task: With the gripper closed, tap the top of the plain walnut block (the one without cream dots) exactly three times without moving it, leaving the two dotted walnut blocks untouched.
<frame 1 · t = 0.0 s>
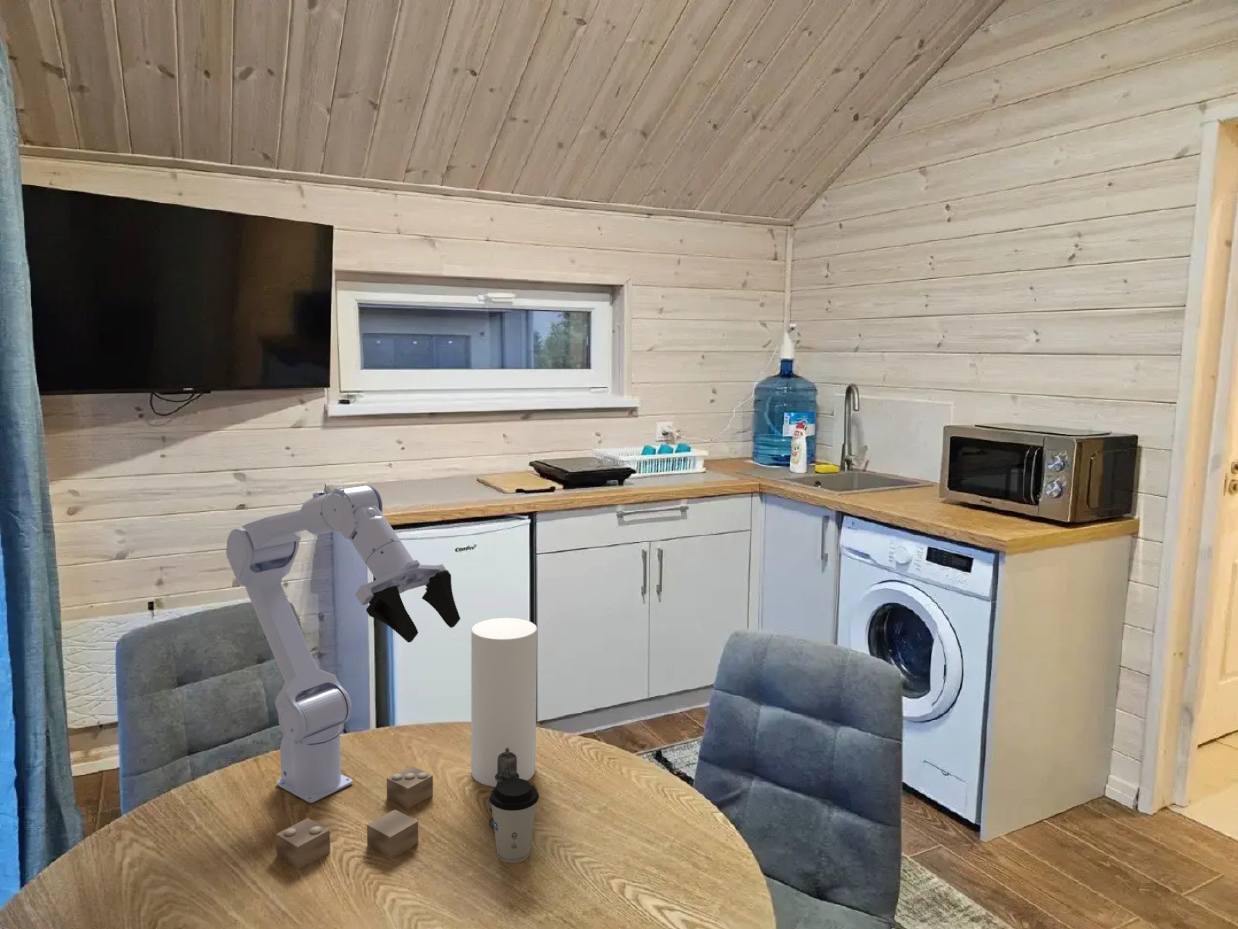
hand: (435, 630, 114), 32 cm above the table, tool tilted 50°, fingers open, 7 cm apart
coffee cup: (513, 854, 118), on the table
plain block: (392, 845, 120), on the table
two-dot block: (303, 855, 117), on the table
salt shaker: (506, 823, 126), on the table
three-dot block: (410, 797, 132), on the table
tall pillar cylinder: (503, 771, 141), on the table
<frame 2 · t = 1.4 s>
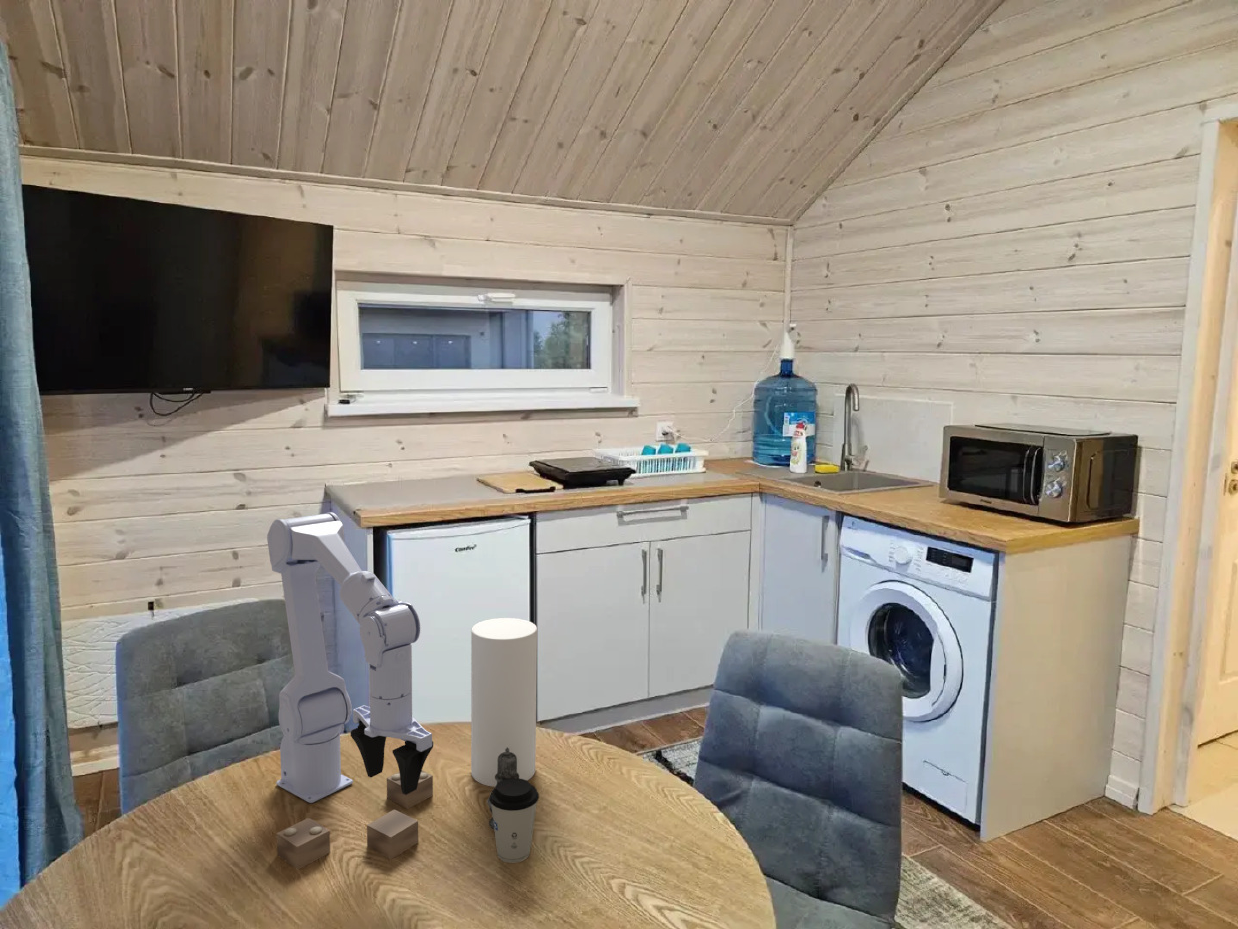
hand: (392, 782, 118), 9 cm above the table, tool pointing down, fingers open, 7 cm apart
nothing on the table moved.
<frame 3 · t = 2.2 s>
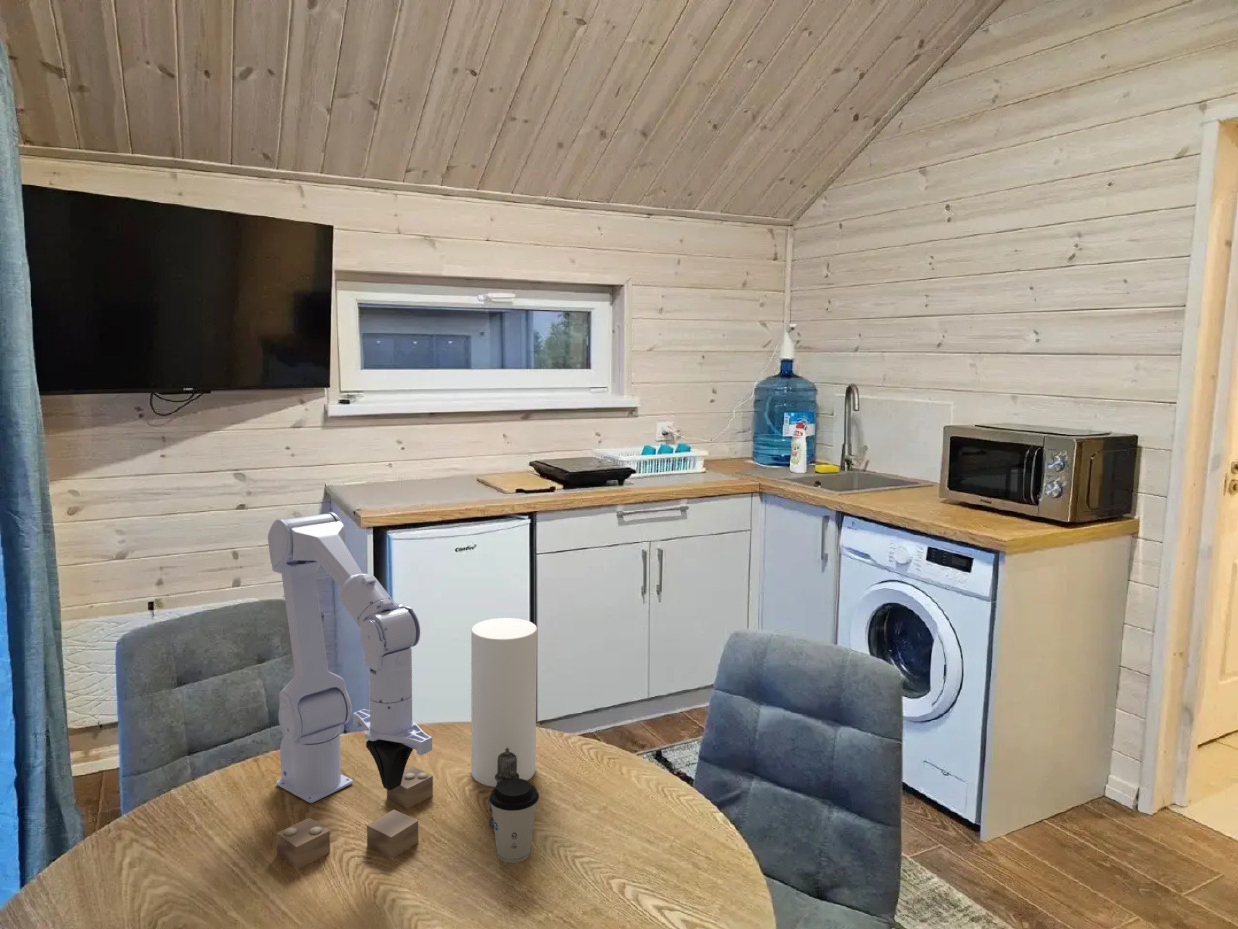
hand: (392, 786, 118), 9 cm above the table, tool pointing down, fingers closed
nothing on the table moved.
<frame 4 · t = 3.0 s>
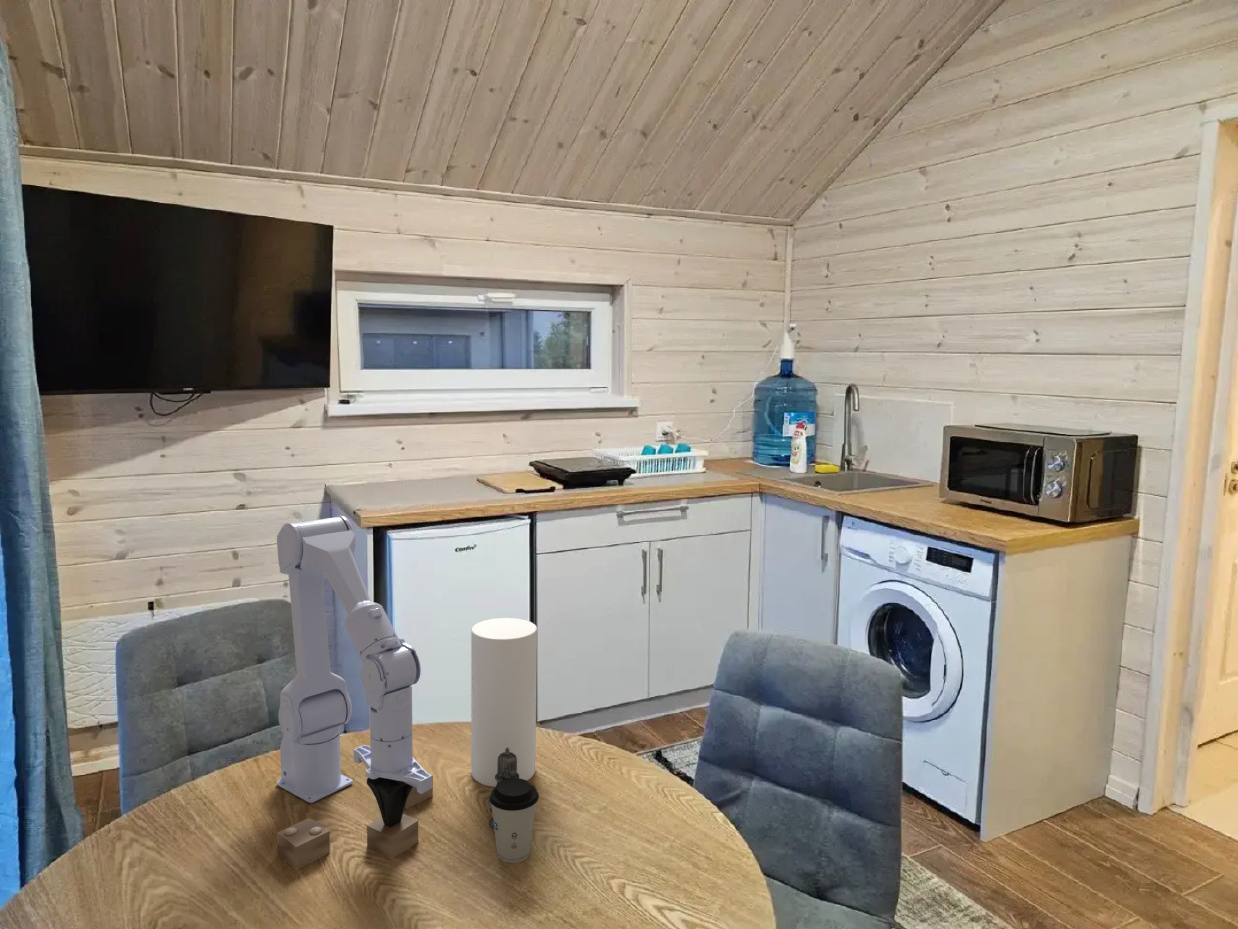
hand: (392, 822, 119), 3 cm above the table, tool pointing down, fingers closed
nothing on the table moved.
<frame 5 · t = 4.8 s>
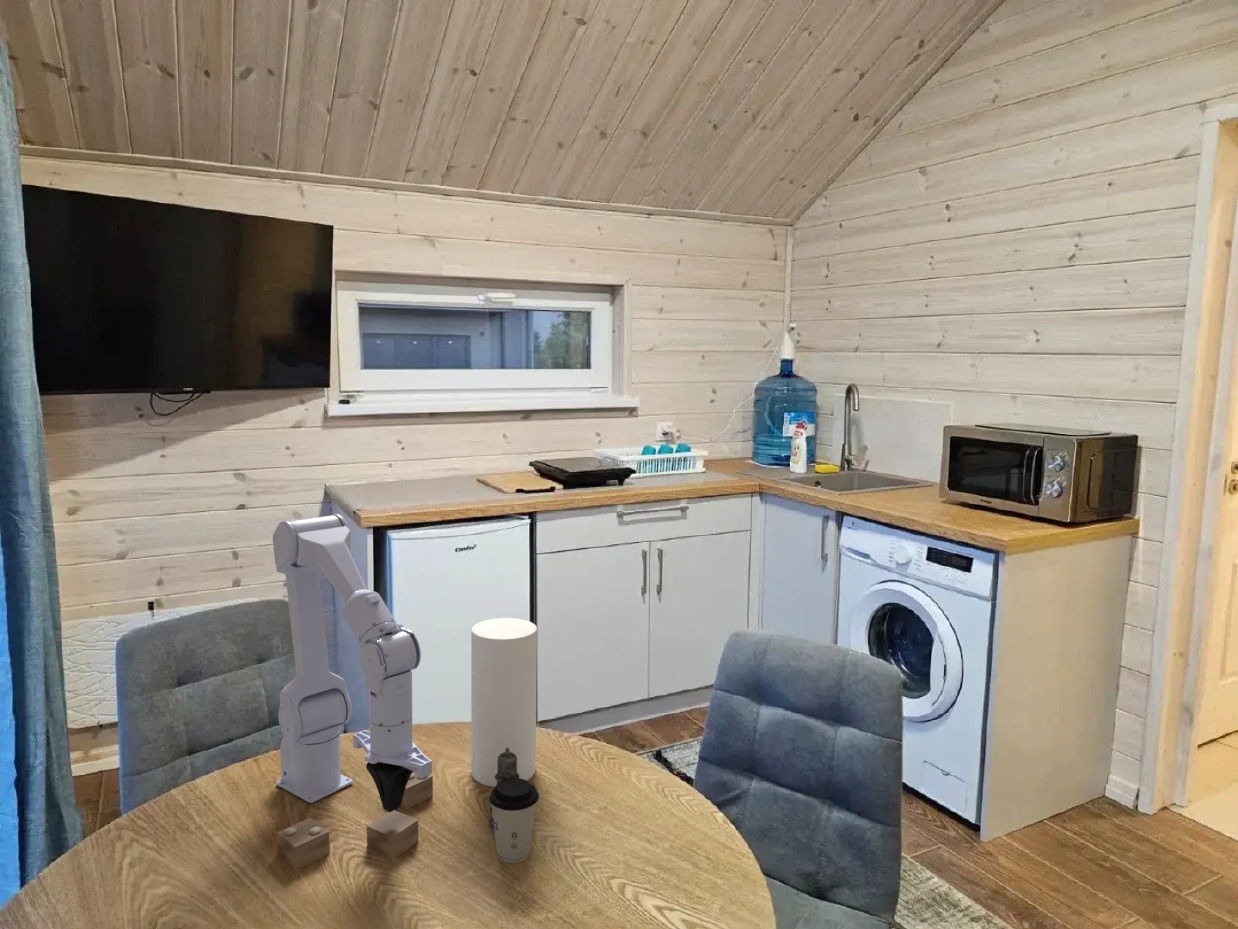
hand: (392, 808, 119), 6 cm above the table, tool pointing down, fingers closed
nothing on the table moved.
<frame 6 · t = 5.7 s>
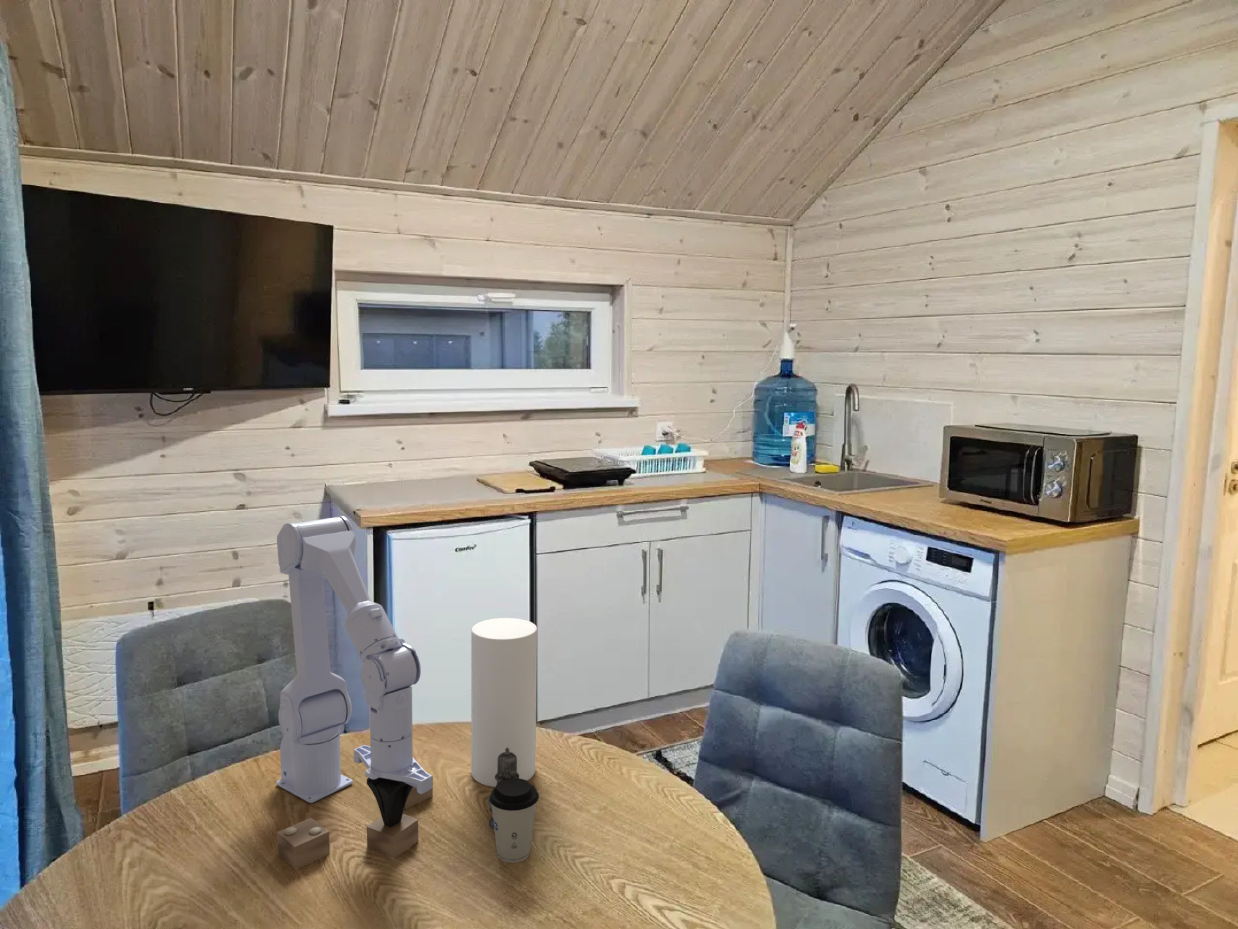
hand: (392, 822, 119), 3 cm above the table, tool pointing down, fingers closed
nothing on the table moved.
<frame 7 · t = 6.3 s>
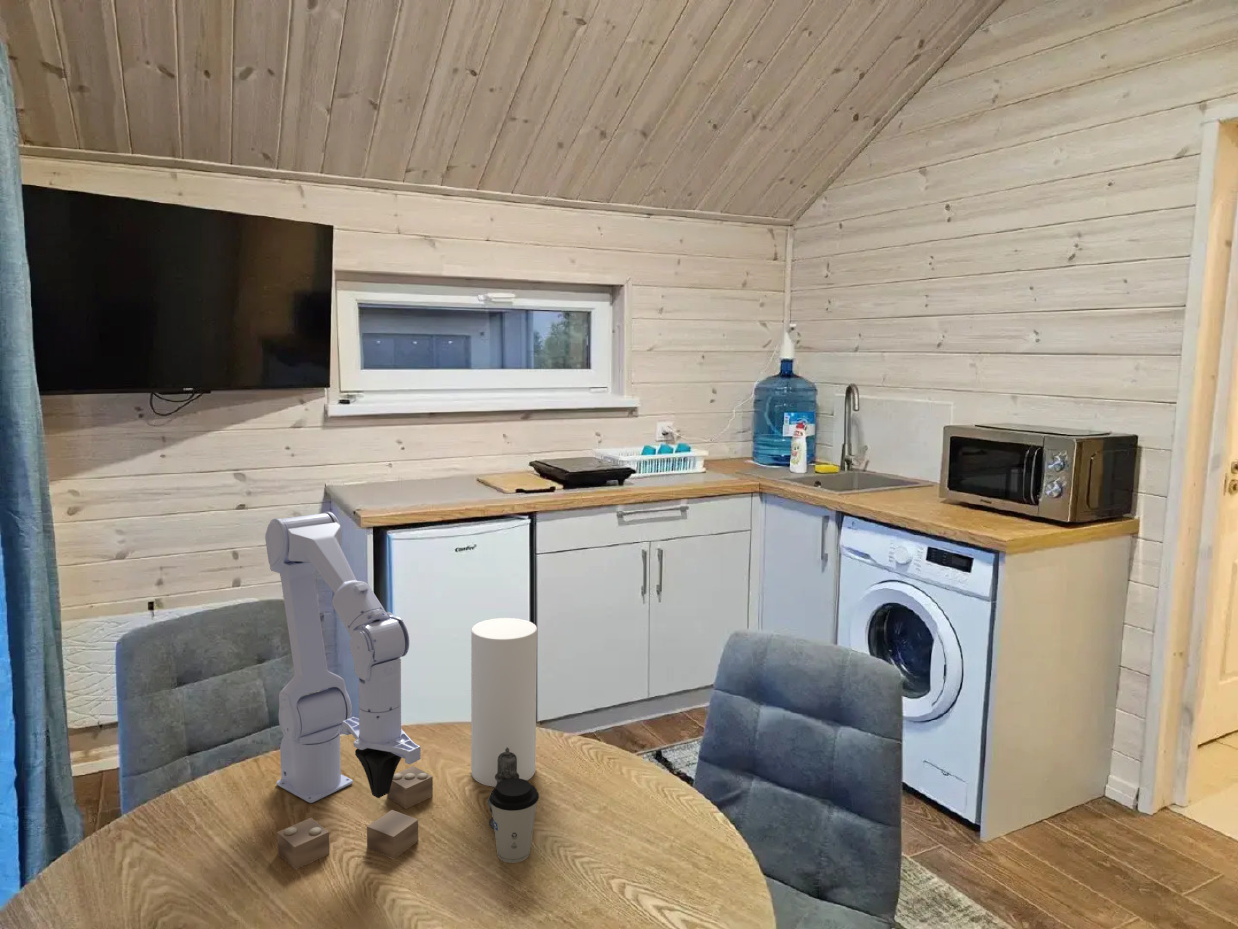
hand: (381, 794, 120), 7 cm above the table, tool pointing down, fingers closed
nothing on the table moved.
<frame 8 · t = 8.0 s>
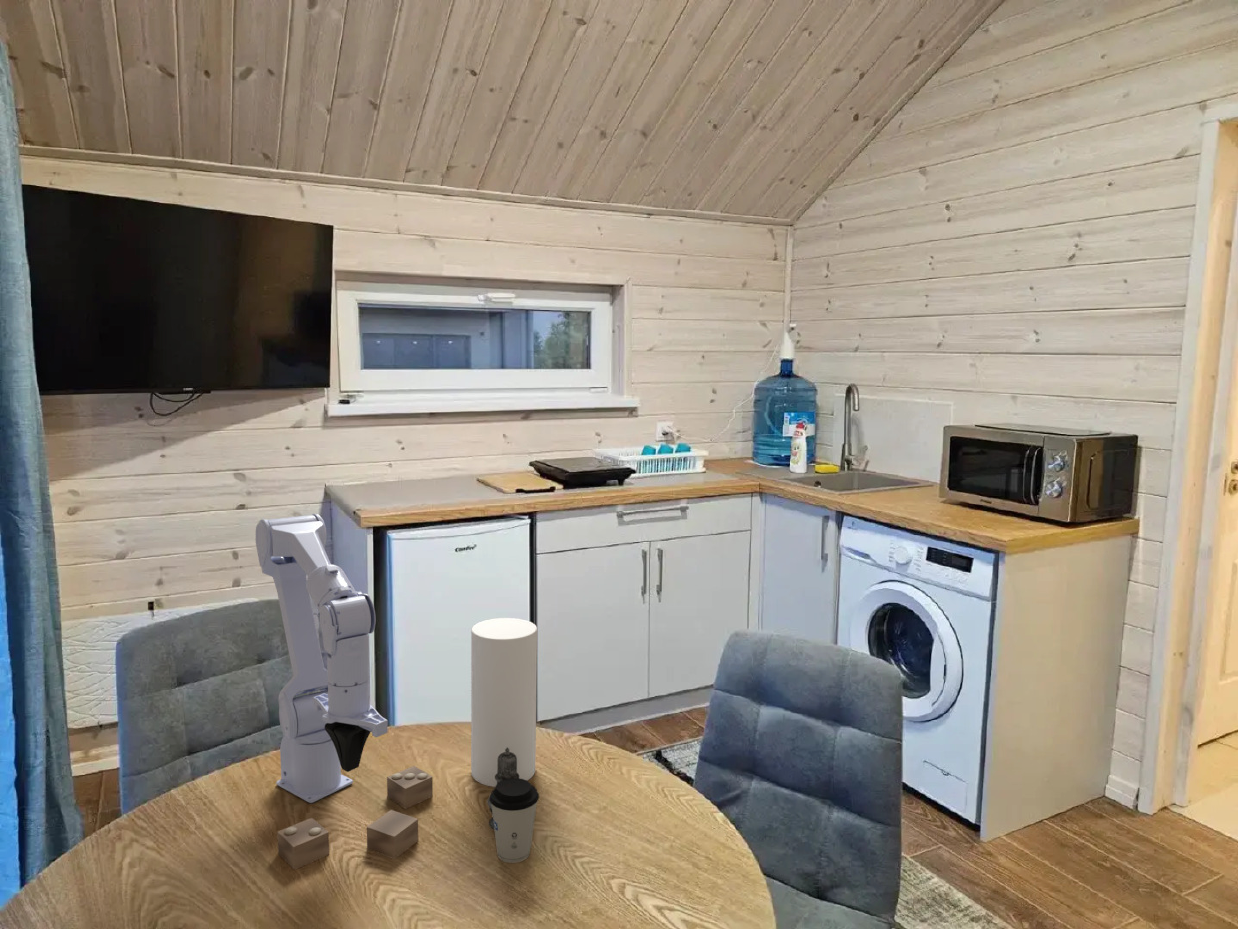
hand: (350, 768, 122), 9 cm above the table, tool pointing down, fingers closed
nothing on the table moved.
at the end: plain block moved 0.2 cm from its start; plain block tilted 0°; two-dot block moved 0.2 cm from its start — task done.
